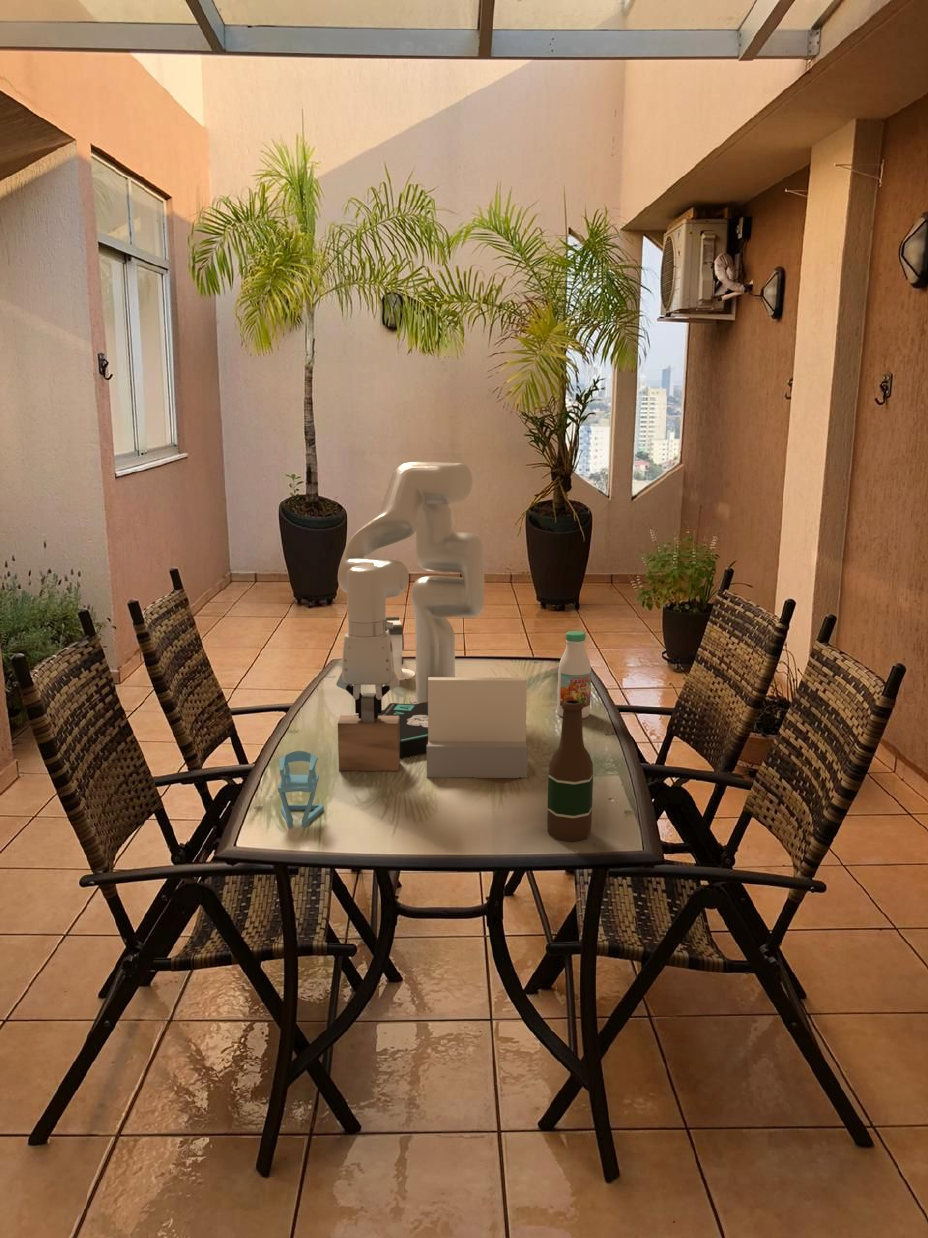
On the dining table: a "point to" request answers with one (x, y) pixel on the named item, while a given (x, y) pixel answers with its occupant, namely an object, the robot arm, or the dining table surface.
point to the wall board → (477, 727)
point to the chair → (299, 787)
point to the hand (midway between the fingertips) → (368, 715)
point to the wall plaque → (410, 727)
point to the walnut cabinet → (368, 740)
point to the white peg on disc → (398, 649)
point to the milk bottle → (574, 673)
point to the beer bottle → (570, 780)
